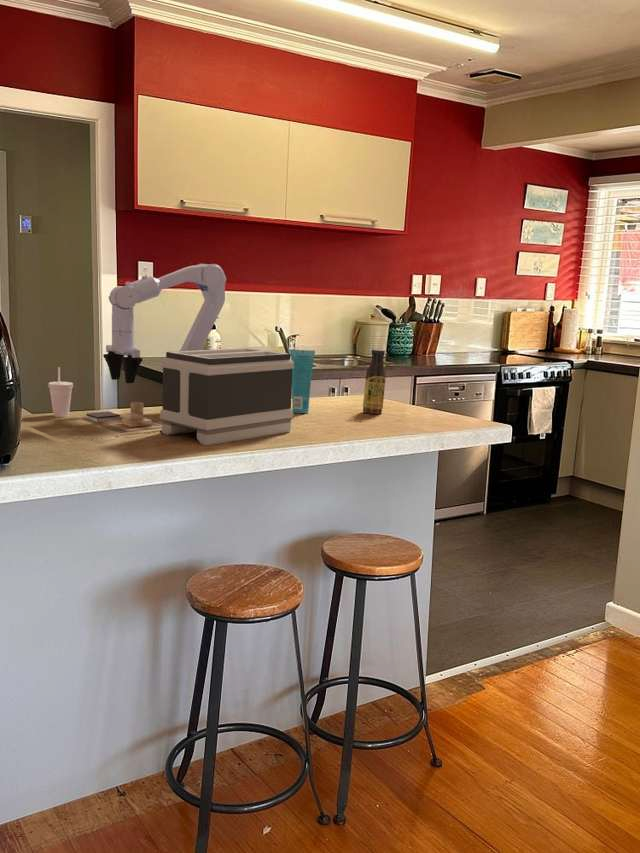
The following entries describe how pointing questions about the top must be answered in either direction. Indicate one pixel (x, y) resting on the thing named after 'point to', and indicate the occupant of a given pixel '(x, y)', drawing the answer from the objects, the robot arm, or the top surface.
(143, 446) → the top surface
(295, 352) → the tube
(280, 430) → the toaster
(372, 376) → the sauce bottle
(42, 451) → the top surface
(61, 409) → the smoothie
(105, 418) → the ink pad
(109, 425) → the board
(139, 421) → the stamp
